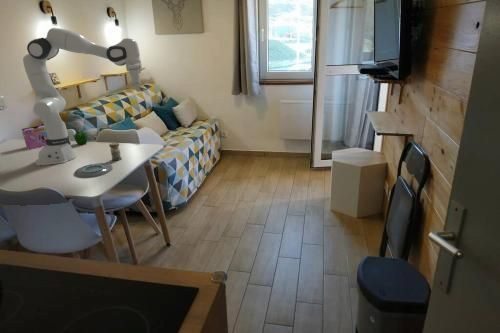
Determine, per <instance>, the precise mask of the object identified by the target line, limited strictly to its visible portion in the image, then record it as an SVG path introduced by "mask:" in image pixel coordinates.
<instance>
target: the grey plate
mask: <svg viewBox="0 0 500 333" xmlns="http://www.w3.org/2000/svg"><path fill="white" fill-rule="evenodd" d="M112 170H113V165H112V164H110V163H107V162H106V163H105V162H104V163H103V162H98V163H90V164H87V165H84V166H81V167H79V168H77V169H75V171H74V175H75V177H77V178H84V179H87V178H95V177H100V176H103V175H106V174H108V173H110V172H111V171H112Z"/></svg>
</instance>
